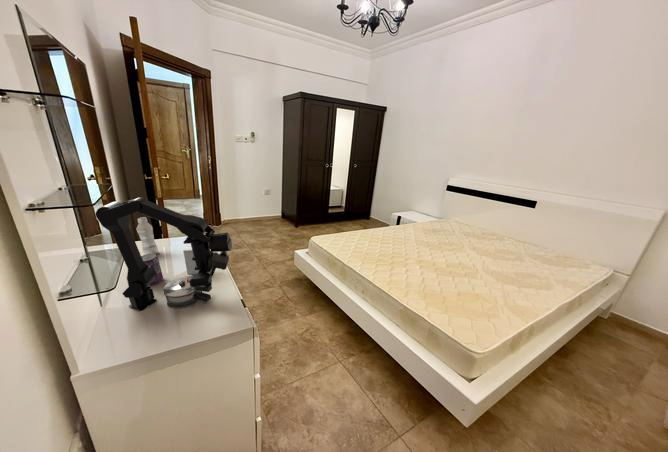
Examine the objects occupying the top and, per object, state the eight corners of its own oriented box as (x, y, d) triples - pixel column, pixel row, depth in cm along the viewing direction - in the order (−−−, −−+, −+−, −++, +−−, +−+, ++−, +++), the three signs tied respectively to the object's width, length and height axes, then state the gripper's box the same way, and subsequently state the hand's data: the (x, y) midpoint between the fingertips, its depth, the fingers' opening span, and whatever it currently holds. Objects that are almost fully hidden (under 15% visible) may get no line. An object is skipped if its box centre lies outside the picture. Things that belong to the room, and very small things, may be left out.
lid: (200, 301, 90) (198, 296, 90) (155, 295, 93) (154, 290, 92) (219, 281, 102) (219, 276, 101) (179, 276, 104) (178, 272, 103)
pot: (197, 316, 91) (194, 305, 89) (159, 304, 96) (156, 293, 94) (221, 296, 102) (220, 285, 100) (186, 286, 107) (184, 276, 105)
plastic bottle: (153, 257, 128) (144, 220, 121) (140, 257, 128) (130, 220, 121) (162, 251, 134) (153, 216, 127) (149, 251, 134) (140, 215, 127)
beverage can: (161, 275, 114) (155, 251, 110) (165, 282, 110) (159, 257, 105) (142, 281, 110) (135, 256, 105) (145, 288, 105) (138, 263, 100)
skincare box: (187, 274, 116) (182, 250, 111) (190, 269, 120) (186, 246, 115) (201, 273, 116) (196, 250, 112) (204, 268, 121) (200, 245, 116)
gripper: (220, 263, 86) (227, 299, 92) (229, 238, 102) (235, 270, 109) (184, 266, 83) (194, 303, 90) (199, 240, 100) (207, 273, 107)
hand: (209, 286), depth 99 cm, fingers closed
